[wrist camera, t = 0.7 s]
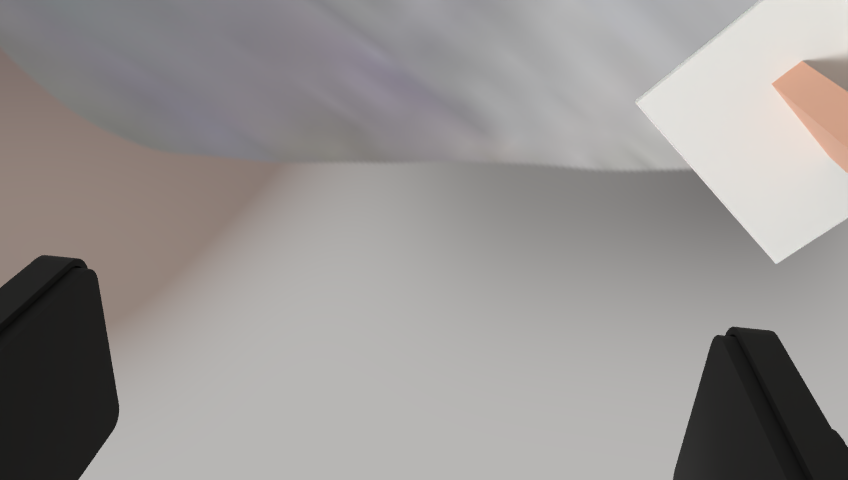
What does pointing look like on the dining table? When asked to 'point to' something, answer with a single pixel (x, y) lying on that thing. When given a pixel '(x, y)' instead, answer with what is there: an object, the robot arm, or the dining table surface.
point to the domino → (818, 108)
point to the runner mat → (760, 120)
